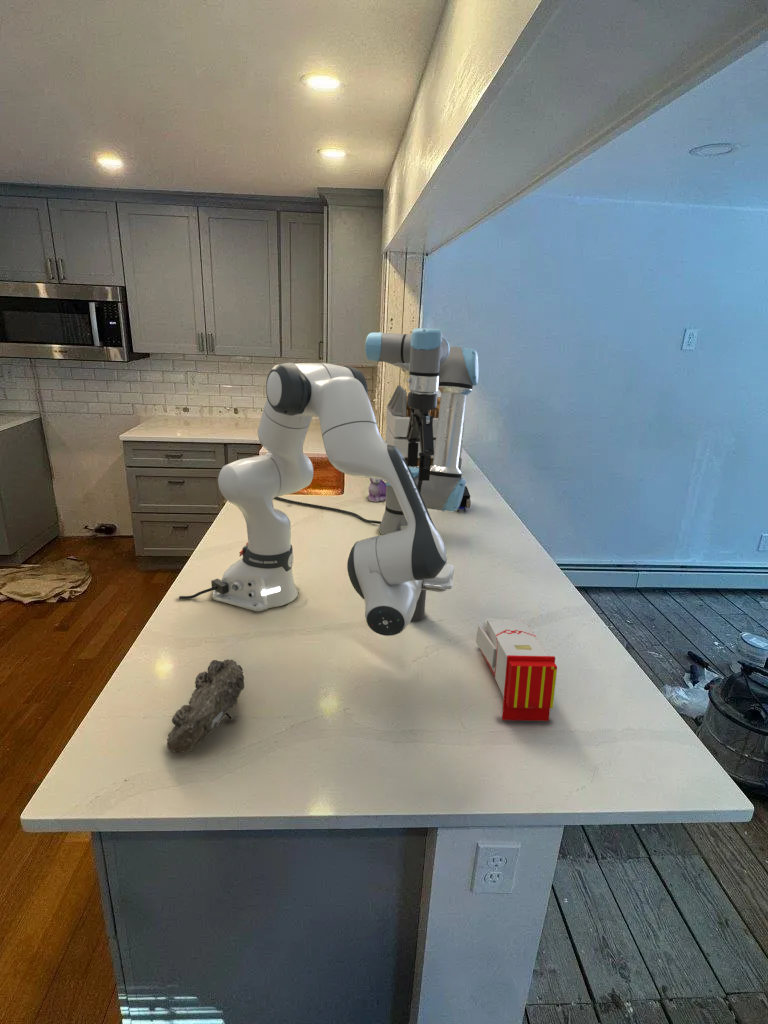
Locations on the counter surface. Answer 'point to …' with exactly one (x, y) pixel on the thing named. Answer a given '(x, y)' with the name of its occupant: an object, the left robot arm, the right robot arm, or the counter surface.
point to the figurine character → (465, 500)
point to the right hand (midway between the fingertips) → (417, 473)
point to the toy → (519, 668)
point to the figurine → (377, 490)
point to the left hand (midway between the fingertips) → (411, 557)
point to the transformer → (407, 424)
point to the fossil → (206, 705)
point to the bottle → (420, 607)
